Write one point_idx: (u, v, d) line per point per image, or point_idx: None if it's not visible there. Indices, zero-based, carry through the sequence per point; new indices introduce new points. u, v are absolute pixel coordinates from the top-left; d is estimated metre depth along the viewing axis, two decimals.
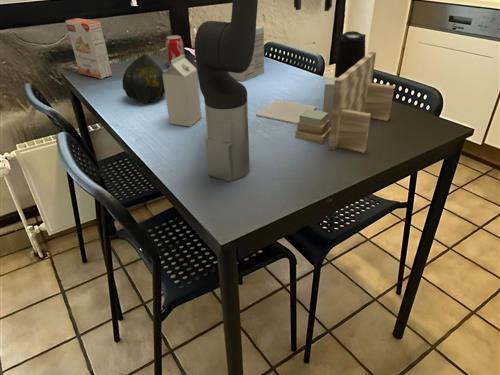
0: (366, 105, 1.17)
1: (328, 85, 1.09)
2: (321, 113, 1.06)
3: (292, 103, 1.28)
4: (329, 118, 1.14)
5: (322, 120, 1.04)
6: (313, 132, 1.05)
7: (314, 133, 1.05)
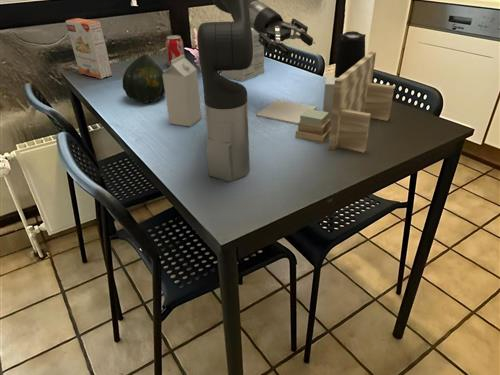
0: (366, 105, 1.17)
1: (328, 85, 1.09)
2: (321, 113, 1.06)
3: (292, 103, 1.28)
4: (329, 118, 1.14)
5: (323, 120, 1.04)
6: (314, 132, 1.05)
7: (315, 133, 1.05)
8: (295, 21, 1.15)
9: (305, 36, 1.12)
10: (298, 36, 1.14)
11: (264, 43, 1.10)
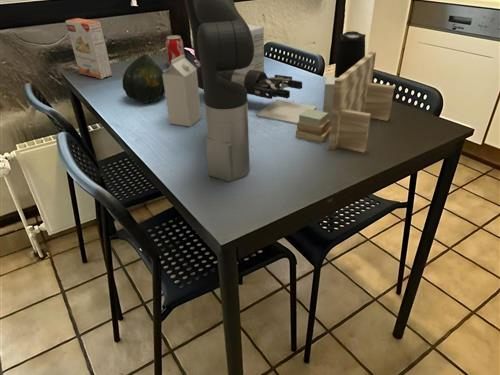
0: (366, 105, 1.17)
1: (328, 85, 1.09)
2: (321, 113, 1.06)
3: (292, 103, 1.28)
4: (329, 118, 1.14)
5: (321, 120, 1.04)
6: (313, 132, 1.05)
7: (314, 133, 1.05)
8: (278, 75, 1.26)
9: (294, 82, 1.22)
10: (286, 85, 1.24)
11: (262, 94, 1.17)
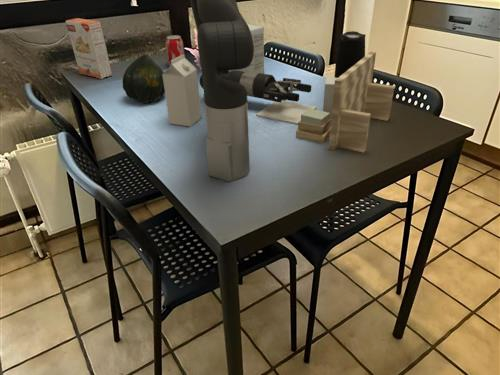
0: (366, 105, 1.17)
1: (328, 85, 1.09)
2: (323, 113, 1.06)
3: (292, 103, 1.28)
4: None
5: (323, 120, 1.04)
6: (314, 132, 1.05)
7: (315, 133, 1.05)
8: (287, 79, 1.25)
9: (303, 85, 1.21)
10: (295, 89, 1.23)
11: (271, 97, 1.16)
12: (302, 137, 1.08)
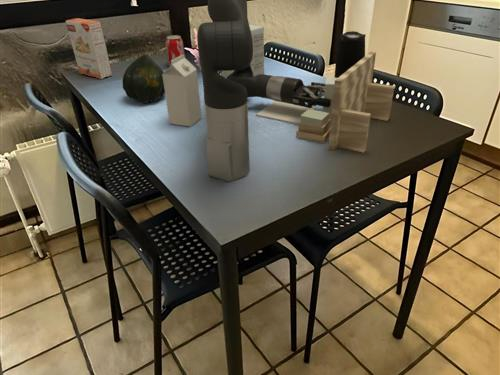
0: (366, 105, 1.17)
1: (328, 85, 1.09)
2: (322, 113, 1.06)
3: None
4: (329, 118, 1.14)
5: (323, 120, 1.04)
6: (315, 132, 1.05)
7: (315, 133, 1.05)
8: (315, 83, 1.21)
9: None
10: None
11: (301, 103, 1.12)
12: (302, 137, 1.08)
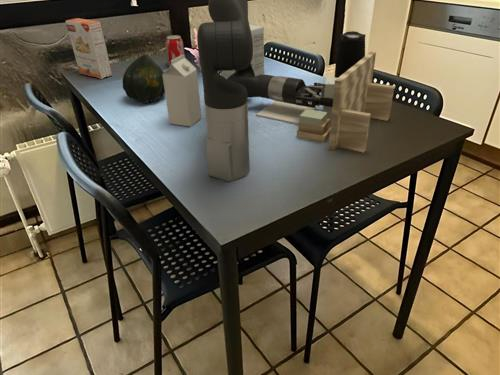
0: (366, 105, 1.17)
1: (328, 85, 1.09)
2: (321, 113, 1.06)
3: None
4: (329, 118, 1.14)
5: (322, 120, 1.04)
6: (315, 132, 1.06)
7: (315, 133, 1.06)
8: (318, 83, 1.20)
9: None
10: None
11: (305, 103, 1.11)
12: (303, 137, 1.08)
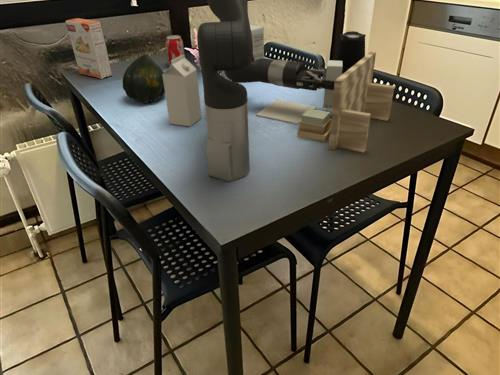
0: (366, 105, 1.17)
1: (330, 67, 1.06)
2: (323, 112, 1.06)
3: (292, 103, 1.28)
4: (330, 102, 1.11)
5: (324, 119, 1.04)
6: (315, 132, 1.06)
7: (316, 132, 1.06)
8: (319, 68, 1.17)
9: None
10: None
11: (306, 85, 1.08)
12: (303, 137, 1.08)
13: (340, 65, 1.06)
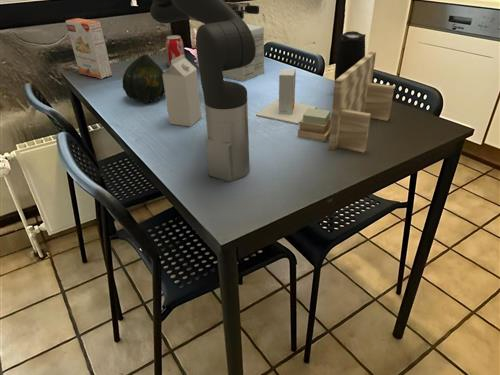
0: (366, 105, 1.17)
1: (282, 76, 1.15)
2: (323, 111, 1.07)
3: None
4: (285, 108, 1.20)
5: (326, 118, 1.05)
6: (316, 131, 1.06)
7: (316, 132, 1.06)
8: (236, 2, 1.22)
9: (250, 6, 1.17)
10: (243, 11, 1.19)
11: None
12: (304, 136, 1.08)
13: (292, 74, 1.15)
